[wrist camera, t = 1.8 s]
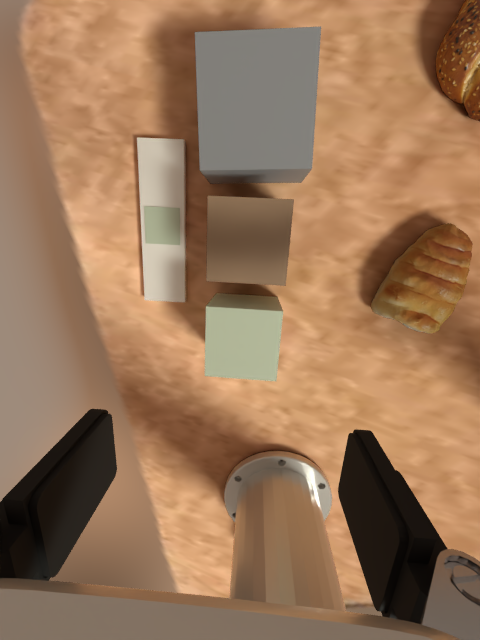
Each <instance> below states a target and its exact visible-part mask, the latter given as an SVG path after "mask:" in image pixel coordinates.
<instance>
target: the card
mask: <svg viewBox="0 0 480 640" xmlns="http://www.w3.org/2000/svg"><path fill="white" fill-rule="evenodd" d="M137 148H138V169H139V191H140V212H141V233H142V255H143V276H144V297H145V300H152V301H168V302H186V142H185V140H184V139H164V138H137Z"/></svg>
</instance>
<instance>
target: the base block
mask: <svg viewBox="0 0 480 640" xmlns="http://www.w3.org/2000/svg"><path fill="white" fill-rule="evenodd" d="M320 35H321V27H303V28H280V29H256V30H232V31H209V32H195V52H196V80H197V108H198V136H199V163H200V171H201V173H202V174H203V175H204V176H205V178H206V179H207V180H208V181H209V183H210V184H222V183H301V182H302V181H303V180H304V178H305V177H306V176H307V174H308V173H309V172H310V171H311V169H312V159H313V144H314V128H315V113H316V97H317V82H318V66H319V51H320Z"/></svg>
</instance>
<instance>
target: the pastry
mask: <svg viewBox="0 0 480 640" xmlns="http://www.w3.org/2000/svg"><path fill="white" fill-rule="evenodd" d="M471 251H472V242H471V240H470V238H469V237H468V235H467V234H465V233H464V232H463V231H461V230H460V229H458V228H457V227H456V226H455V225H453V224H449V223H448V224H443V225H440V226H437V227H434V228H431V229H428V230H427V231H425V232H424V234H423V235H422V236H421V237H420V238H418V239H417V241H416V242H415V243H414V244H413V245H411V246H410V247H408V249H407V250H406V251H405V253H404V254H403V255H401V256H400V257H399V258H397V259H396V260H395V262H394V265H393V266H392V267H391V269H390V271H389V273H388V275H387V276H386V278H385V279H384V281H383V282H382V283H381V285H380V287H379V289H378V291H377V293H376V295H375V298H374V299H373V301H372V304H371V309H372V311H373V312H374V313H376V314H378V315H380V316H383V317H385V318H391V319H393V320H397V321H399V322H401V323H403V325H405V326H406V327H407V328H410V329H413V330H415V331H418V332H424V333H429V334H430V333H435V332H437V331H439V329H440V326H441V325H442V323H443V322H444V321H445V320H446V319H447V318H448V317H449V316H450V315H451V314H452V312H453V311H454V309H455V306H456V303H457V302H458V301H459V300H460V299H461V297H462V294H463V292H464V288H465V285H466V282H467V279H466V278H467V275H468V272H469V266H470V260H471V257H472V253H471Z"/></svg>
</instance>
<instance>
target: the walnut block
mask: <svg viewBox="0 0 480 640" xmlns="http://www.w3.org/2000/svg"><path fill="white" fill-rule="evenodd" d="M293 203H294V199H273V198H251V197H228V196H208V209H207V276H206V281H212V282H229V283H247V284H264V285H282V286H286V277H287V266H288V256H289V245H290V235H291V224H292V214H293Z"/></svg>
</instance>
